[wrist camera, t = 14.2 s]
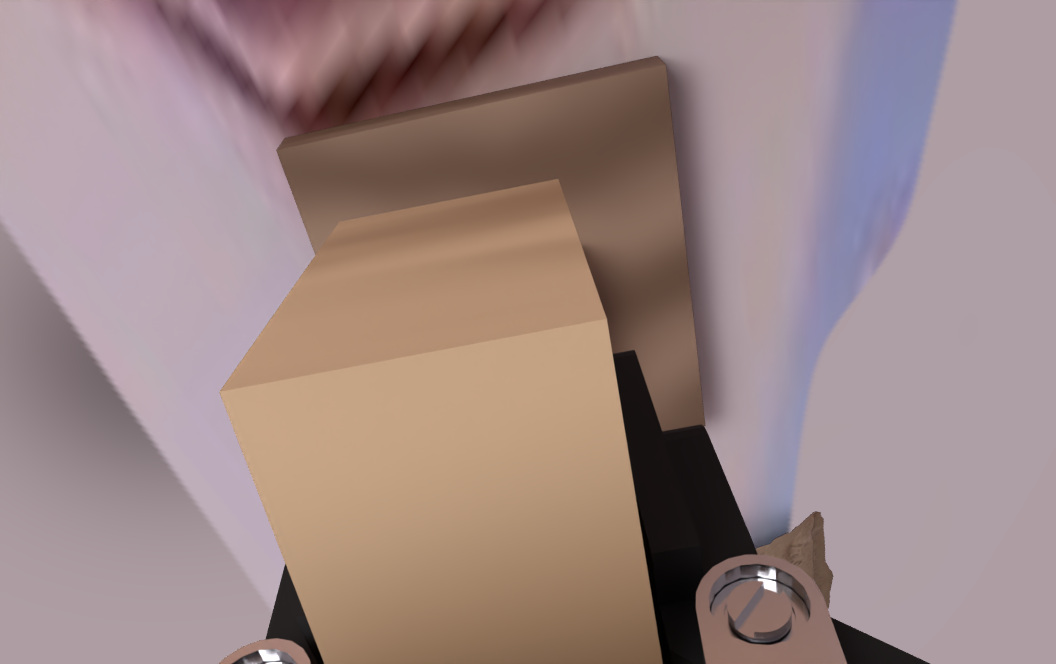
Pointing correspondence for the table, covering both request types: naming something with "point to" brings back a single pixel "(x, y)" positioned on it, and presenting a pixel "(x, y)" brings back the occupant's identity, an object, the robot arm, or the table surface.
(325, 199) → the walnut board
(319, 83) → the table surface
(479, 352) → the tan block
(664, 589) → the robot arm
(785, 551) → the clay tablet
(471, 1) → the table surface
